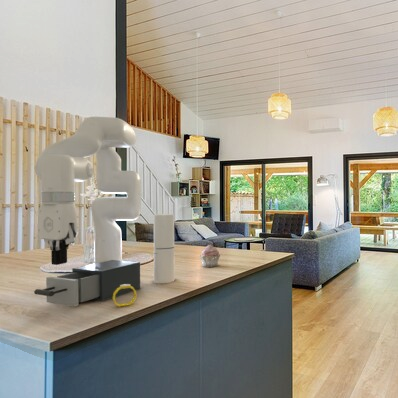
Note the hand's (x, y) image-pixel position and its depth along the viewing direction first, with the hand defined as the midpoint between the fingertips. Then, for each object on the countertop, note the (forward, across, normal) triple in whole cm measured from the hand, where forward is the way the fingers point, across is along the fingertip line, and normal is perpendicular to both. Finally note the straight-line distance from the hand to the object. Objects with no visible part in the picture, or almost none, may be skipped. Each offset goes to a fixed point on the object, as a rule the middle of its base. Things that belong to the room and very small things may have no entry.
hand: (59, 263), depth 91 cm
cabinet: (+13, -1, +16) cm, 21 cm away
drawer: (+12, -1, +5) cm, 13 cm away
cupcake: (+14, +6, +62) cm, 64 cm away
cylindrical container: (+13, +6, +34) cm, 37 cm away
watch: (+13, +15, +8) cm, 21 cm away
